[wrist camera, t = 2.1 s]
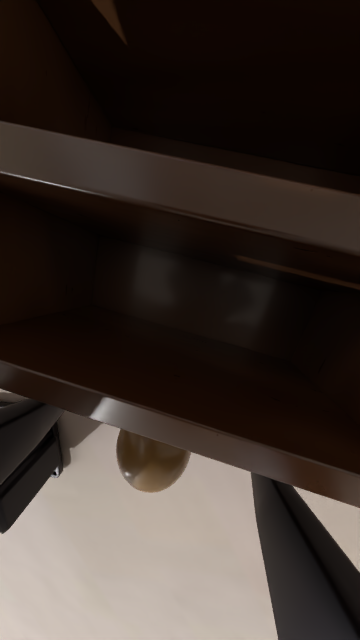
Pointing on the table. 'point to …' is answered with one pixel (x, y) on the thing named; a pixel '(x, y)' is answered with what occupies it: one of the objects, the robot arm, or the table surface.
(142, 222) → the shelf
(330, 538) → the robot arm
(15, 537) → the table surface
